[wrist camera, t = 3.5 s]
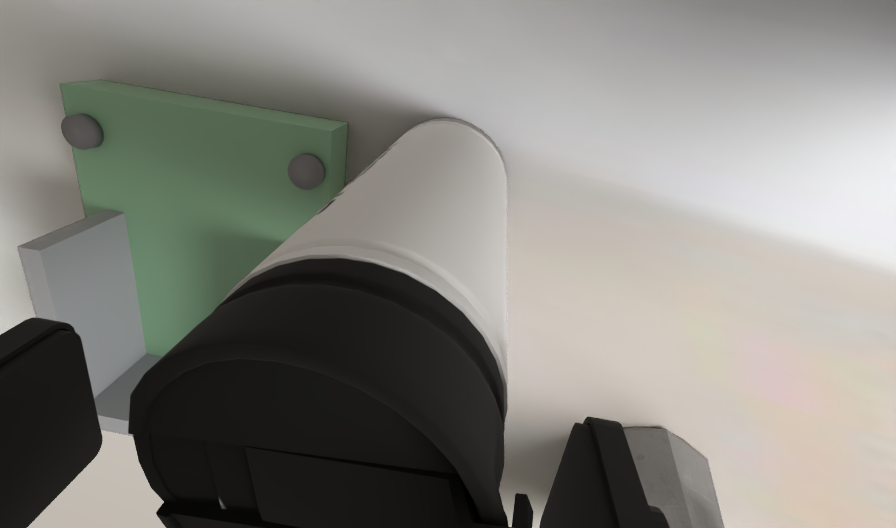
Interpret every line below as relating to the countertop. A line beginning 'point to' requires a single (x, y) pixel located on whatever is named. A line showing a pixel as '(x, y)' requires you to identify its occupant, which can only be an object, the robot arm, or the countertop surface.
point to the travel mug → (351, 362)
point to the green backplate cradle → (170, 219)
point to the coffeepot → (674, 478)
